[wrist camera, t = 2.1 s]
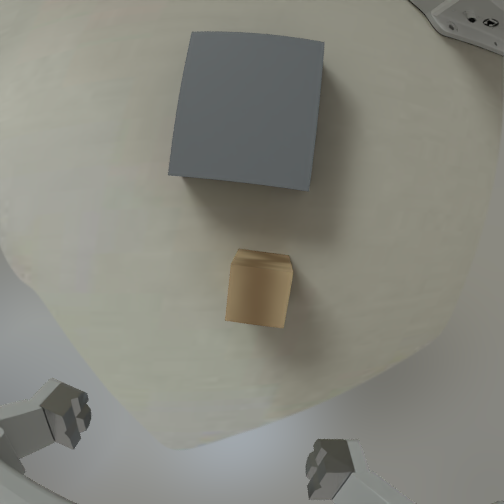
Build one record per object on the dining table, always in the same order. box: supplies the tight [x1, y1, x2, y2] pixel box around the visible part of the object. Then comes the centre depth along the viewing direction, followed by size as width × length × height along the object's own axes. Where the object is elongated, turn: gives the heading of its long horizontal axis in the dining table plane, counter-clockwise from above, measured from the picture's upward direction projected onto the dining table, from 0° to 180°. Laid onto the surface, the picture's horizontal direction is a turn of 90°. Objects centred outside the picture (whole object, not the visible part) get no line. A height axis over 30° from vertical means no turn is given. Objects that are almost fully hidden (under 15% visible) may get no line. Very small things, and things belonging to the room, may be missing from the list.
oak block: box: [225, 249, 293, 328], centre depth 28 cm, size 5×5×6 cm
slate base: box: [168, 32, 324, 191], centre depth 25 cm, size 12×14×4 cm
